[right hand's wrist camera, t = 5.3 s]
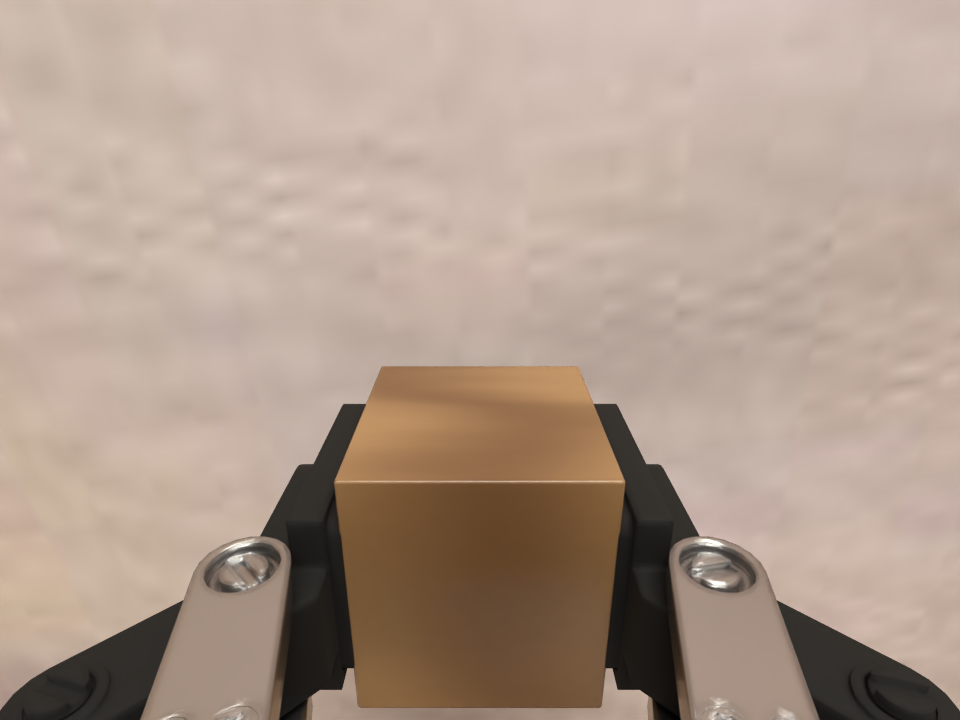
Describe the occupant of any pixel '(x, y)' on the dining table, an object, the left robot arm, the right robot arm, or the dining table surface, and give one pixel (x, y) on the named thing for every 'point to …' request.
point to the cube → (479, 539)
